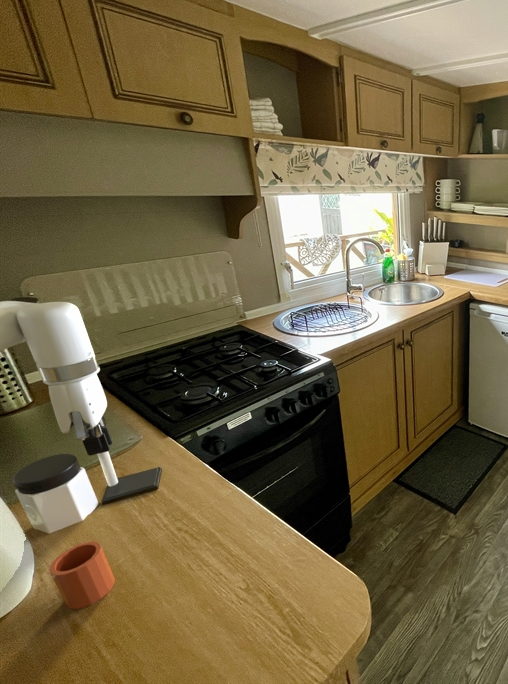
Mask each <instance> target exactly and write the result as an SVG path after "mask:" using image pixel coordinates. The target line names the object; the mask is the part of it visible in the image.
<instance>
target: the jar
mask: <svg viewBox="0 0 508 684" xmlns="http://www.w3.org/2000/svg"><path fill="white" fill-rule="evenodd" d="M12 481H13V486H14V487H15V490H14V493H15V495H16V497H17V498H18V500H19V503H20V504H21V506H22V508H23V510H24V512H25V514H26V516H27V519H28V521H29V523H30V524H31V526H32V528H33V529H34V530H38V531H40V532H42V533H46V534H48V535H49V534H52V533H55V532H57V531H60V530H62V529H65V528H67V527H70V526H72V525H76V524H79V523H81V522H83V521H84V520H85V519H86V518H87V517H88V515H91V514H92V513H93V511H95V509H96V508H97V507H98V506H99V505H100V503H99V501H98V499H97V495H96V494H95V491H94V489H93V486H92V484H91V481H90V479H89V476H88V473H87V471H86V468H84V467H81V465H80V463H79V460H78V458H77V456H76V455H75V454H72V453H61V454H60V453H59V454H54V455H49V456H46V457H43V458H41V459H38V460H35V461H33V462H31V463H28V464H27V465H25V466H24V467H22V468H20V469H19V470H18V471H17V472H15V474H14V475H13V478H12Z"/></svg>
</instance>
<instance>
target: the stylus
mask: <svg viewBox="0 0 508 684" xmlns="http://www.w3.org/2000/svg"><path fill="white" fill-rule="evenodd" d="M98 425H99V424H98ZM99 427H100V425H99ZM88 429H93V428H88ZM93 430H94V429H93ZM100 430H101V428H100ZM101 433H102V431H101ZM96 455H97V458H98V460H99V463H100V466H101V469H102V472H103V476H104V478H105V481H106V484H107V486H115V485H116V484H117V483H118V479H117V478H118V476H117V474H116V470H115V468H114V465H113V462H112V459H111V456H110V451H108V452H103V453H99V454H96Z"/></svg>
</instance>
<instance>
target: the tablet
mask: <svg viewBox="0 0 508 684" xmlns="http://www.w3.org/2000/svg"><path fill="white" fill-rule="evenodd" d="M162 472H163V468H162V466H158V467H154V468H150V469H147V470H142V471H139V472H135V473H132V474H127V475H124V476H123V475H122V476H119V477H117V479H118V483H117V484H116V485H115V486H108V485H107V486H106V488H105V491H104V493H103V497H102V499H101V504H102V505H103V506H104V505H108V504H111V503H114V502H117V501H118V502H119V501H120V500H121V501H122V500H125V499H128V498H131V497H135V496H139V495H141V494H142V495H143V494H145V493H149V492H153V491H156V490H158V489H159V487H160V481H161V477H162Z"/></svg>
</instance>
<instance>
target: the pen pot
mask: <svg viewBox="0 0 508 684" xmlns="http://www.w3.org/2000/svg"><path fill="white" fill-rule="evenodd" d="M48 570H49V573H50V575H51V577H52V579H53V582H54V584H55V585H56V587H57V590H58V592H59V593H60V596H61V597H62V599H63V602H64V603H65V606H66V607H67V608H69V609H72V610H80V609H83V608H86V607H89V606H91V605H93V604H95V603H97V602H98V601H99V600H101V599H102V598H103V597H105V596H106V595H107V594H108V593H109V592H110V591H111V590H112V589H113V587H114V585H115V581H116V577H115V576H114V575H115V574H114V573H113V570H112V568H111V566H110V563H109V561H108V559H107V556H106V553H105V552H104V549H103V547H102V545H101V543H100V542H97V541H86V542H83V543H79V544H76V545H74V546H73V547H70V548H68V549H66V550H65V551H63V552H62V553H61V554H59V555H58V556H57V557H56V558H55V559H54V560H53V561H52V562H51V564H50V566H49V568H48Z"/></svg>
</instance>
